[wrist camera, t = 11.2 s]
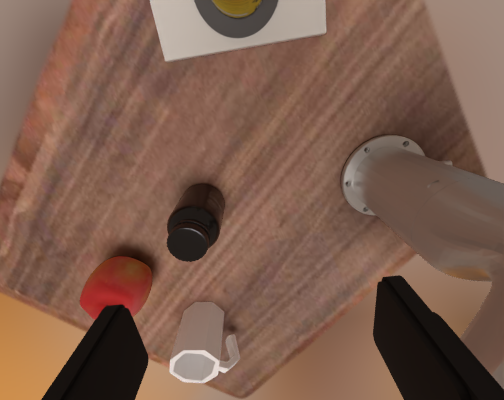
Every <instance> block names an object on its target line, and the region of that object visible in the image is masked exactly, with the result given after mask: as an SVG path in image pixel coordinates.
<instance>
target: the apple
mask: <svg viewBox="0 0 504 400" xmlns="http://www.w3.org/2000/svg"><path fill="white" fill-rule="evenodd" d="M151 286H152V272H151V270H150V268H149V267H148V266H147V265H146V264H144V263H143V262H141V261H139V260H136V259H134V258H130V257H126V256H117V257H113V258H110V259H108V260H106V261H104V262H103V263H102V264H100V265H99V266H98V267H97V268H96V269H95V270H94V271H93V273H92V274H91V275H90V277H89V278H88V280H87V282H86V284H85V286H84V288H83V291H82V294H81V297H80V305H81V307H82V308H83V309H84V310H85V311H86V312H87V313H88V314H89V315H90V316H91V317H92V318H93V319H95V320H96V318H97V317H98V315H99V314H100V313H101V311H102V310H103V308H104V307H106V306H110V305H119V304H123V305H124V306H125V308H128V309H129V310H130V313H131V315H132V317H133V316H134V315H136V314H137V313H138V312H139V311H140V310H141V308H142V307H143V305H144V304H145V302H146V300H147V298H148V296H149V293H150V290H151Z"/></svg>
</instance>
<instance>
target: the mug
mask: <svg viewBox="0 0 504 400" xmlns="http://www.w3.org/2000/svg"><path fill="white" fill-rule="evenodd" d="M223 323H224V311H223V310H222V309H220V308H219V307H218V306H217V305H216V304H214V303H213V302H195V303H193V304H192V305H191V306H189V307H188V308H187V309H186V310H184V313H183V316H182V320H181V323H180V327H179V330H178V334H177V337H176V341H175V344H174V348H173V351H172V355H171V358H170V373H171V374H172V375H174V376H175V377H177V378H178V379H180V380H181V381H183V382H191V383H205V382H207V381H209V380H210V379H212V378H214V377H216V376H217V375H218V371H221V372H223V373H226V372H227V371H228V370H229V369H230V368H232V367H233V366H234V365H235V364H236V363H237V361H238V360H239V359H240V355H239V351H238V346H237V342H236V337H235V334H234V335H229V336H228V337H227V339H226V341H225V342H226V345H227V349H228V353H229V356H230V360H229V361H227V362H224V361H220V354H221V343H222V333H223Z"/></svg>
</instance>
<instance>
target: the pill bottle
mask: <svg viewBox="0 0 504 400" xmlns="http://www.w3.org/2000/svg"><path fill="white" fill-rule="evenodd" d="M262 1H263V0H212V2H213V4H214V5H215V7H216V8H217V9H218V10H219V11H220V12H221V13H222V14H223V15H225V16H227V17H229V18H232V19H243V18H246V17H249V16H250V15H252V14H253V13H254V12H255V11H256V10H257V9H258V8H259V6H260V5H261V3H262Z"/></svg>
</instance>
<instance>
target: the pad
mask: <svg viewBox="0 0 504 400" xmlns="http://www.w3.org/2000/svg"><path fill="white" fill-rule="evenodd" d="M194 2H195V4H196V7H197V9H198V11H199V13H200V15H201V16H202V18H203V19H204V21H205V22H206V23H207V24H208V25H209V26H210V27H211V28H212V29H213V30H215V31H216V32H217V33H219V34H221V35H223V36H226V37H230V38H245V37H248V36H251V35H253V34H255V33H257V32H258V31H260V30H261V29H262V28H263V27H264V26H265V25H266V24H267V23H268V22H269V20H270V19H271V17H272V15H273V13H274V11H275V9H276V7H277V3H278V0H263V1H262V3H261V5H260V6H259V8H258V9H257V10H256V11H255V12H254V13H253V14H252V15H250V16H249V17H246V18H243V19H232V18H229V17H227V16H225V15H223V14H222V13H221V12H220V11H219V10H218V9H217V8H216V7H215V5H214V4H213V2H212V0H194Z"/></svg>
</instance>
